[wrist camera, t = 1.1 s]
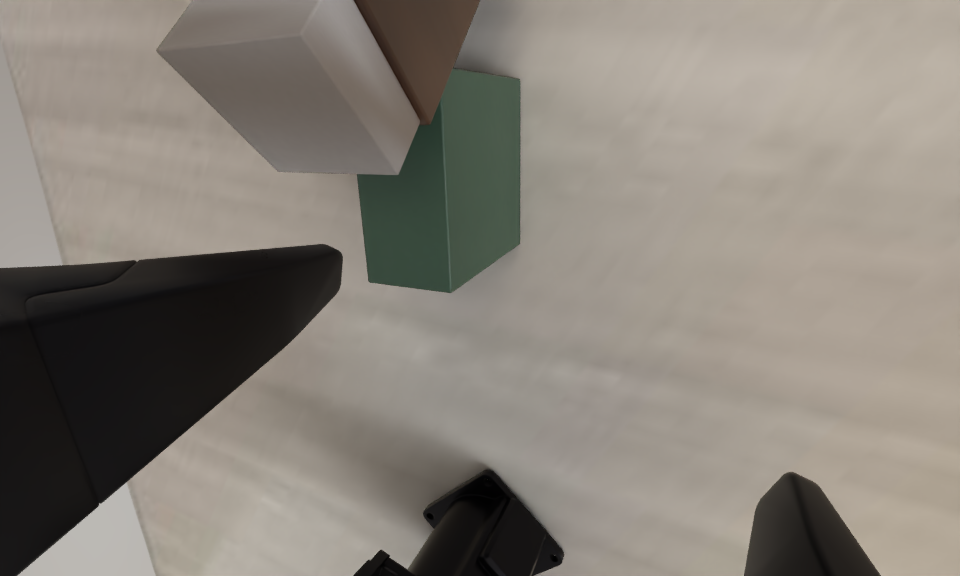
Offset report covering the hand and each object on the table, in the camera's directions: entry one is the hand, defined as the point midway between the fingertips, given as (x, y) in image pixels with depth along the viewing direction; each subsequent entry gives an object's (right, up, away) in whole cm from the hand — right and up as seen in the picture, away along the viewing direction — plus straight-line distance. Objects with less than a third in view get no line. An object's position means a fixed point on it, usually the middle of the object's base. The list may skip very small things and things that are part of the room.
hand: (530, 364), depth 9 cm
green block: (-1, +7, +13) cm, 14 cm away
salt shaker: (-1, +14, +10) cm, 17 cm away
